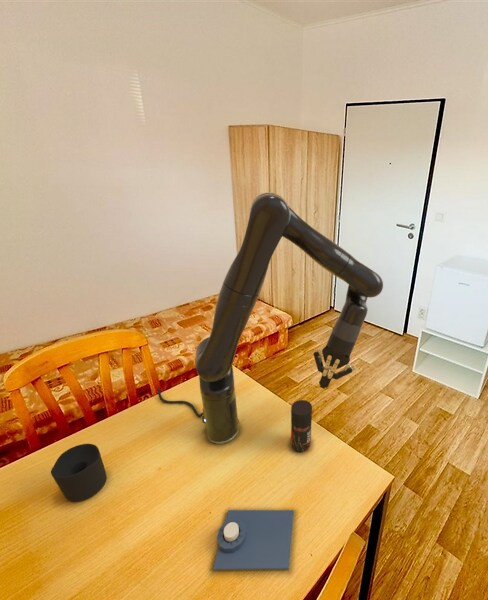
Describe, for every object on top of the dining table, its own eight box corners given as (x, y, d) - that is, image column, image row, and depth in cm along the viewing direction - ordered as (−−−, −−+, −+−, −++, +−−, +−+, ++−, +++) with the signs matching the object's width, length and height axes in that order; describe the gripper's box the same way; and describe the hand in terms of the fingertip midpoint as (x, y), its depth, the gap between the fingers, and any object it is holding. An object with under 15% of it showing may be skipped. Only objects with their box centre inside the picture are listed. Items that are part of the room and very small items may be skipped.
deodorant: (307, 454, 94) (308, 417, 87) (288, 450, 95) (288, 412, 88) (312, 438, 99) (314, 402, 93) (294, 434, 100) (295, 398, 94)
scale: (210, 571, 67) (209, 564, 66) (226, 512, 78) (225, 506, 77) (288, 570, 68) (288, 564, 67) (293, 512, 79) (293, 506, 78)
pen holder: (117, 478, 84) (107, 453, 79) (77, 511, 76) (65, 485, 72) (94, 463, 87) (84, 438, 83) (55, 493, 79) (41, 467, 75)
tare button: (222, 542, 70) (221, 537, 69) (226, 526, 73) (225, 522, 72) (237, 542, 70) (236, 537, 70) (240, 526, 73) (240, 522, 73)
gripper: (367, 341, 93) (345, 392, 96) (327, 323, 95) (306, 373, 99) (363, 348, 86) (340, 402, 89) (320, 328, 88) (298, 381, 91)
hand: (322, 386), depth 94 cm, fingers closed
